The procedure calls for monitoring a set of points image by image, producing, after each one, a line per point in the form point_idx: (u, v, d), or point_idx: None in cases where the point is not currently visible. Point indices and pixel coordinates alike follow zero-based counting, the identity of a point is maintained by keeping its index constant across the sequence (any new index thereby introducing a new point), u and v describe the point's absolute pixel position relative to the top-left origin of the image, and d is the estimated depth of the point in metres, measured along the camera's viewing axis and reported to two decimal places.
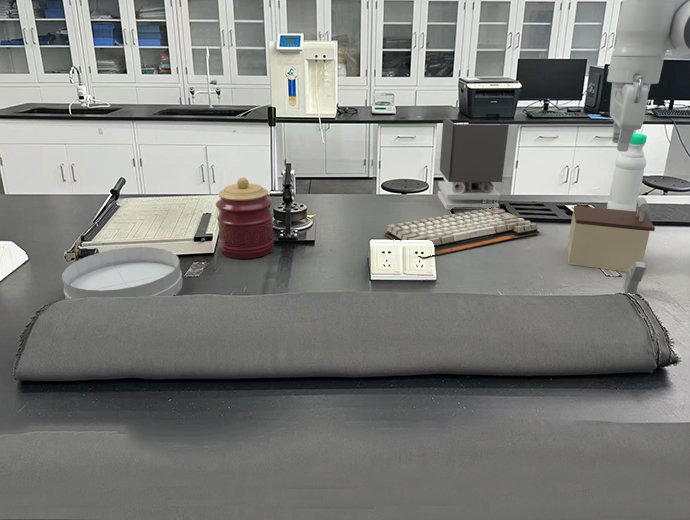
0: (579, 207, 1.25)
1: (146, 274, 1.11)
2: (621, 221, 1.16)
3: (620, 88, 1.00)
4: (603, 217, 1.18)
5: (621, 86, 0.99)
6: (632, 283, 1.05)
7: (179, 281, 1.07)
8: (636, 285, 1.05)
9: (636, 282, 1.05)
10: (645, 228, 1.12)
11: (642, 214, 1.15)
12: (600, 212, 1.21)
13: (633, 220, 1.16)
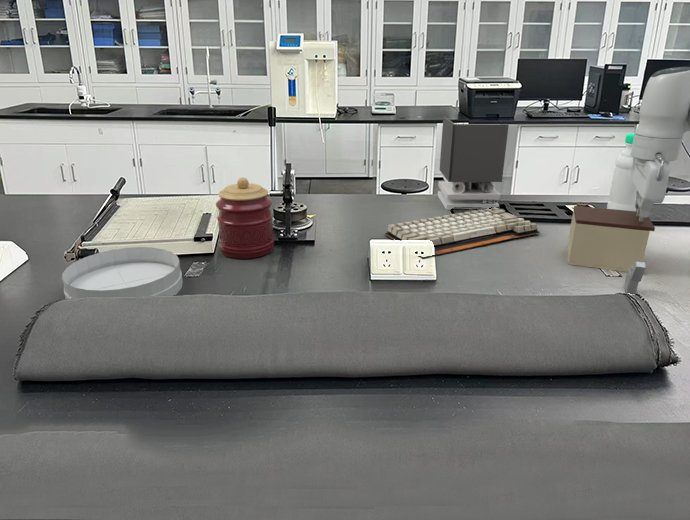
0: (579, 207, 1.25)
1: (146, 274, 1.11)
2: (621, 221, 1.16)
3: (643, 163, 1.11)
4: (603, 217, 1.18)
5: (644, 161, 1.11)
6: (631, 283, 1.05)
7: (179, 281, 1.07)
8: (636, 285, 1.05)
9: (636, 282, 1.05)
10: (645, 228, 1.12)
11: None
12: (600, 212, 1.21)
13: (633, 220, 1.16)
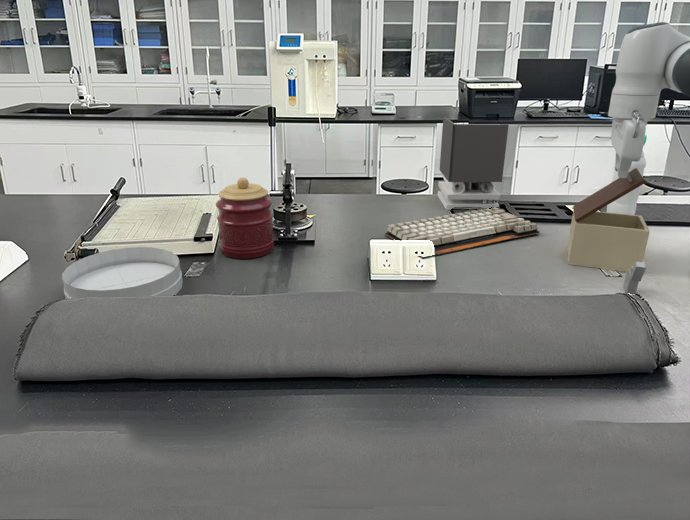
0: (577, 204, 1.25)
1: (146, 274, 1.11)
2: (613, 193, 1.14)
3: (620, 122, 1.10)
4: (598, 200, 1.17)
5: (621, 121, 1.10)
6: (631, 283, 1.05)
7: (179, 281, 1.07)
8: (636, 285, 1.05)
9: (636, 282, 1.05)
10: (636, 185, 1.10)
11: None
12: (595, 197, 1.21)
13: (624, 185, 1.14)
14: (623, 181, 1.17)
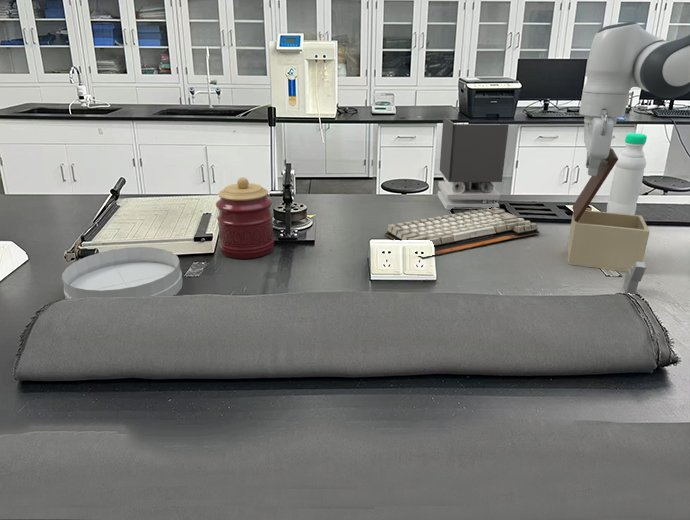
0: (575, 203, 1.25)
1: (146, 274, 1.11)
2: (597, 181, 1.14)
3: (590, 120, 1.12)
4: (587, 192, 1.17)
5: (591, 119, 1.11)
6: (631, 283, 1.05)
7: (179, 281, 1.07)
8: (636, 285, 1.05)
9: (636, 282, 1.05)
10: (611, 165, 1.10)
11: None
12: (585, 190, 1.21)
13: (603, 169, 1.14)
14: (602, 165, 1.17)
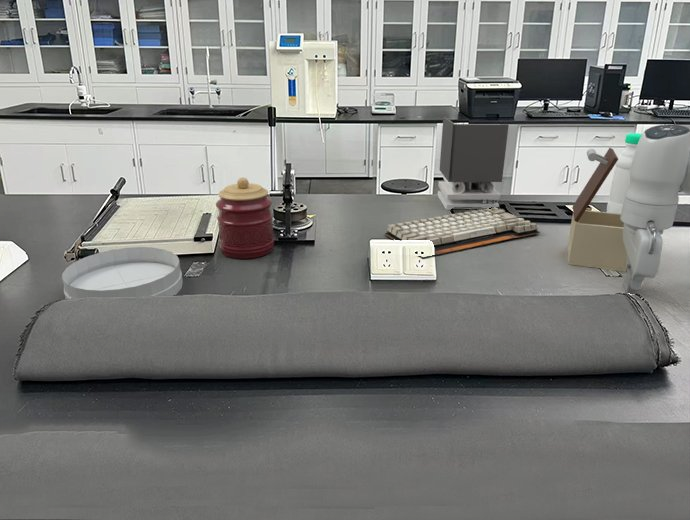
0: (575, 203, 1.25)
1: (146, 274, 1.11)
2: (597, 181, 1.14)
3: (634, 230, 1.00)
4: (587, 192, 1.17)
5: (635, 228, 1.00)
6: None
7: (179, 281, 1.07)
8: None
9: None
10: (611, 165, 1.10)
11: (599, 160, 1.14)
12: (585, 190, 1.21)
13: (603, 169, 1.14)
14: (602, 165, 1.17)
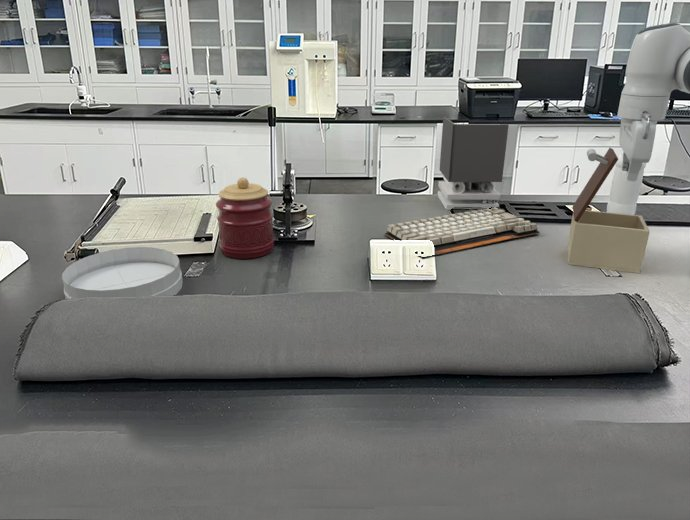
0: (575, 203, 1.25)
1: (146, 274, 1.11)
2: (597, 181, 1.14)
3: (629, 123, 1.09)
4: (587, 192, 1.17)
5: (630, 122, 1.09)
6: None
7: (179, 281, 1.07)
8: None
9: None
10: (611, 165, 1.10)
11: (599, 160, 1.14)
12: (585, 190, 1.21)
13: (603, 169, 1.14)
14: (602, 165, 1.17)
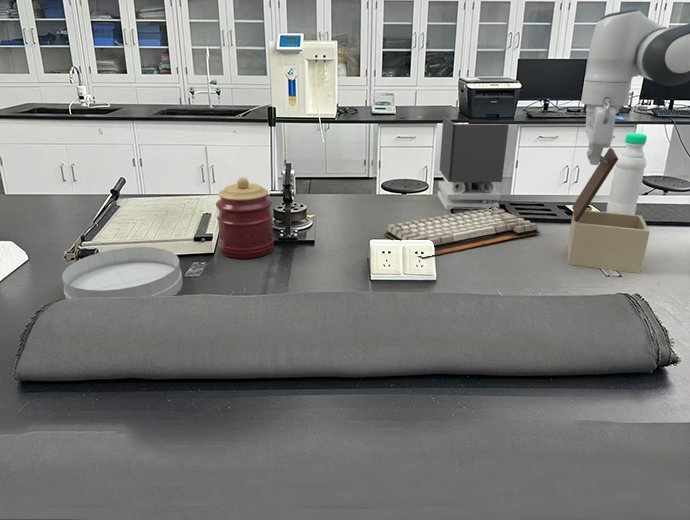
0: (575, 203, 1.25)
1: (146, 274, 1.11)
2: (597, 181, 1.14)
3: (592, 109, 1.11)
4: (587, 192, 1.17)
5: (593, 108, 1.10)
6: None
7: (179, 281, 1.07)
8: None
9: None
10: (611, 165, 1.10)
11: None
12: (585, 190, 1.21)
13: (603, 169, 1.14)
14: (602, 165, 1.17)
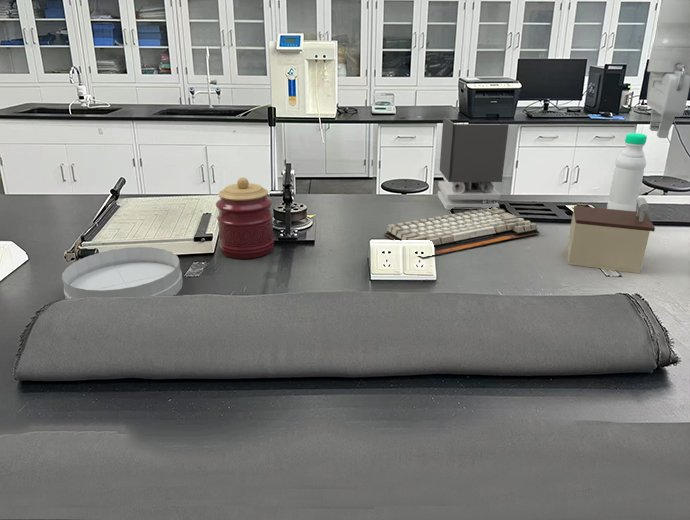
0: (579, 207, 1.25)
1: (146, 274, 1.11)
2: (621, 221, 1.16)
3: (661, 77, 1.05)
4: (603, 217, 1.18)
5: (662, 75, 1.04)
6: None
7: (179, 281, 1.07)
8: None
9: None
10: (645, 228, 1.12)
11: (642, 214, 1.15)
12: (600, 212, 1.21)
13: (633, 220, 1.16)
14: (632, 216, 1.19)
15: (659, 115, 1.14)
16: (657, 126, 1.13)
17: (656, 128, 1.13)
